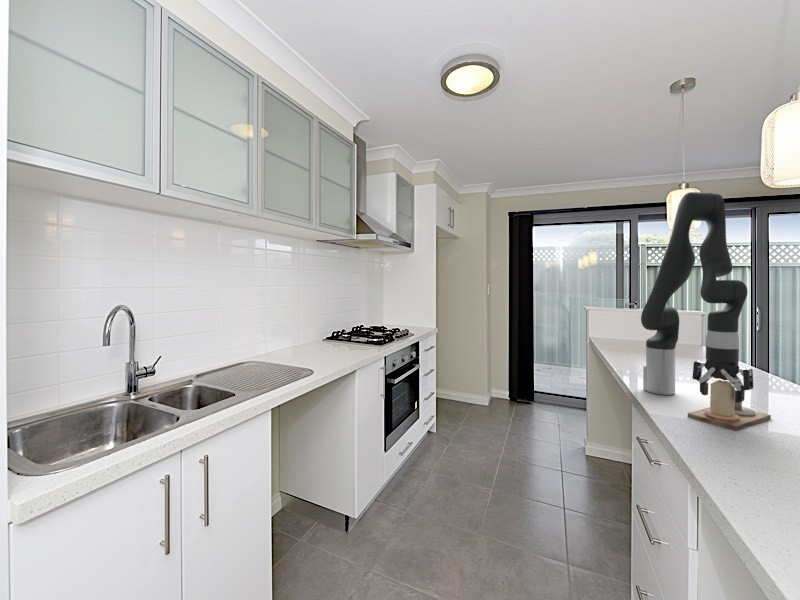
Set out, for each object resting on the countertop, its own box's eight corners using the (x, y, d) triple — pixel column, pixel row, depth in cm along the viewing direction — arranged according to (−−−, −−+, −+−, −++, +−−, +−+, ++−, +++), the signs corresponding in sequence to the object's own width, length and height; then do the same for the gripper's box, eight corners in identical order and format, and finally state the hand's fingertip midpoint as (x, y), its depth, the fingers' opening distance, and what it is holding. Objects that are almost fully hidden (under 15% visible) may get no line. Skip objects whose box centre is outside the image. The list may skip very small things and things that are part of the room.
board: (687, 416, 114) (687, 391, 114) (723, 407, 122) (723, 383, 122) (735, 430, 103) (735, 402, 103) (770, 418, 111) (771, 393, 111)
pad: (698, 414, 113) (698, 411, 113) (713, 410, 117) (713, 407, 116) (730, 422, 106) (730, 420, 106) (745, 418, 109) (745, 415, 109)
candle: (717, 415, 109) (717, 382, 109) (706, 410, 114) (706, 378, 114) (738, 417, 108) (739, 383, 108) (726, 411, 113) (727, 379, 113)
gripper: (759, 348, 105) (757, 403, 106) (702, 341, 118) (701, 390, 119) (745, 350, 102) (743, 407, 103) (688, 343, 115) (687, 393, 116)
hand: (721, 398), depth 111 cm, fingers open, 8 cm apart
